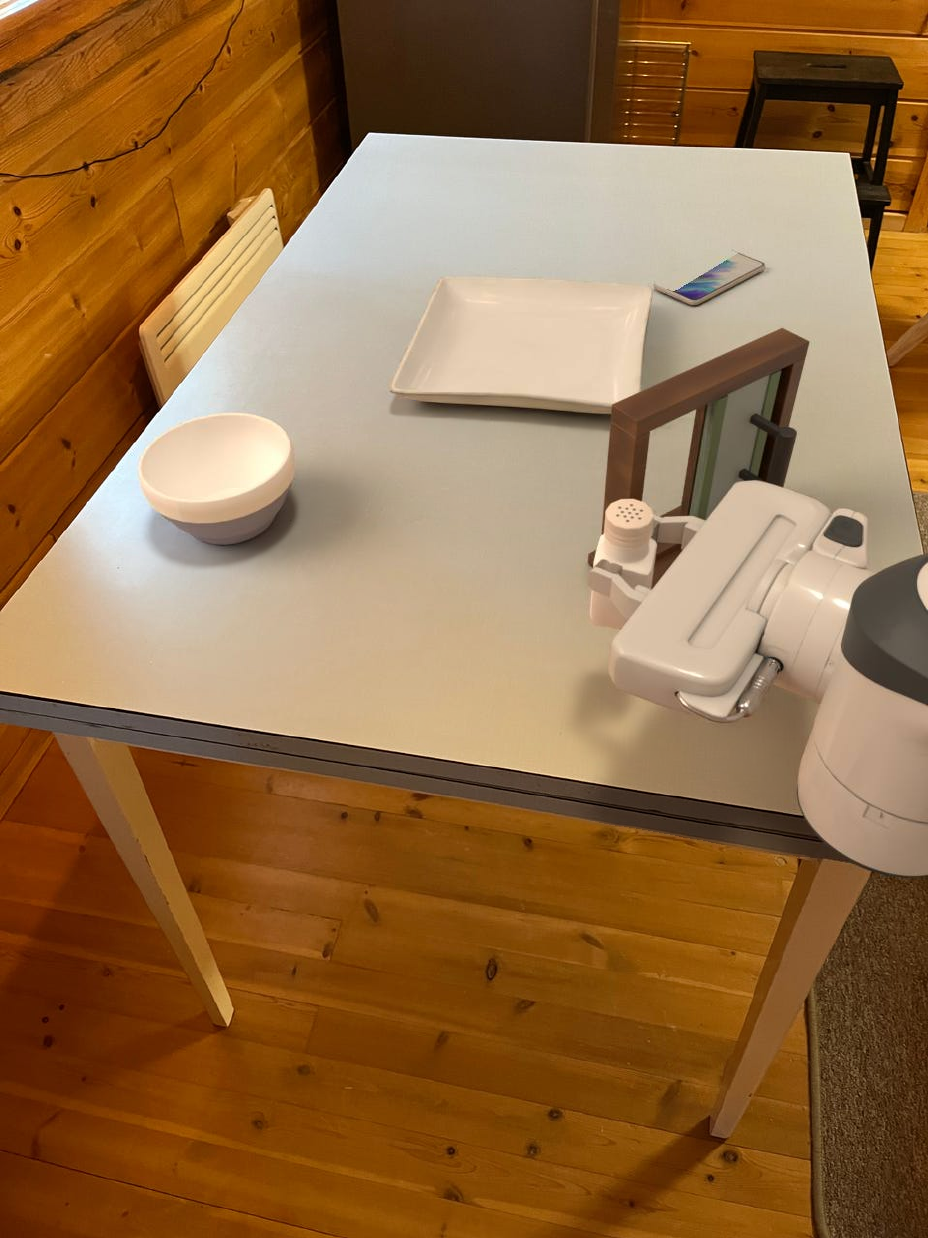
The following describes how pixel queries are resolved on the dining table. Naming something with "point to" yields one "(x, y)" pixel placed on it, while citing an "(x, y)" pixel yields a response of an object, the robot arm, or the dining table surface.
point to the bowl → (219, 475)
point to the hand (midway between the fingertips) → (614, 547)
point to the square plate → (527, 344)
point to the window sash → (739, 444)
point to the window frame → (696, 419)
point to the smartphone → (716, 279)
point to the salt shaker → (624, 554)
